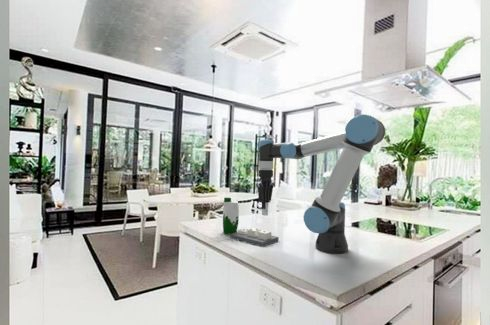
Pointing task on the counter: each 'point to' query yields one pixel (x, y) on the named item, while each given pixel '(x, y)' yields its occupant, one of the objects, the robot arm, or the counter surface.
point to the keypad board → (253, 239)
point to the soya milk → (230, 216)
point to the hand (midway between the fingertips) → (264, 215)
